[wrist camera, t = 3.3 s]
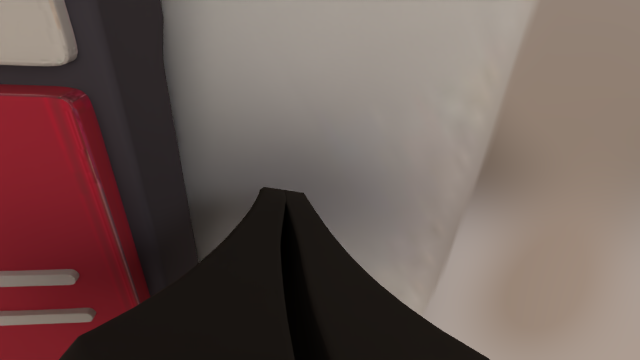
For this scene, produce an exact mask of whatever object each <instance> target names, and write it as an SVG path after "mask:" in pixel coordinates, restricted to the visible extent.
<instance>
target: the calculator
mask: <svg viewBox="0 0 640 360" xmlns="http://www.w3.org/2000/svg"><path fill="white" fill-rule="evenodd" d="M197 264H198V259H197V253H196V248H195V242H194V236H193V231H192V225H191V219H190V213H189V208H188V202H187V196H186V191H185V185H184V179H183V173H182V168H181V162H180V156H179V151H178V145H177V139H176V133H175V128H174V122H173V116H172V111H171V105H170V99H169V93H168V88H167V82H166V76H165V71H164V64H163V15H162V8H161V2H160V0H0V360H59V359H60V358H61V356H62V355H63V354H64V353H65V352H66V350H67V349H68V348H69V347H70V346H71V344H72V343H73V342H74V341H75V340H76V339H77V337H78V336H80V335H82V334H84V333H86V332H88V331H90V330H92V329H94V328H96V327H98V326H100V325H102V324H104V323H105V322H107V321H109V320H111V319H113V318H115V317H117V316H119V315H120V314H122V313H124V312H126V311H128V310H130V309H132V308H133V307H135V306H137V305H138V304H140V303H142V302H143V301H145V300H147V299H148V298H150V297H151V296H153V295H154V294H156V293H157V292H159V291H160V290H162V289H164V288H165V287H167V286H168V285H170V284H171V283H173V282H174V281H176V280H177V279H179V278H180V277H181V276H183V275H184V274H185V273H187V272H188V271H189V270H191V269H192V268H193V267H194V266H196V265H197Z"/></svg>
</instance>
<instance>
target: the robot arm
mask: <svg viewBox="0 0 640 360" xmlns="http://www.w3.org/2000/svg"><path fill="white" fill-rule="evenodd" d="M59 360H489V358H487V357H485V356H484V355H482V354H480V353H479V352H477V351H475V350H474V349H472V348H470V347H469V346H467V345H465V344H464V343H462V342H460V341H458V340H457V339H455V338H454V337H452V336H450V335H449V334H447V333H445V332H443V331H442V330H440V329H439V328H437V327H436V326H434V325H433V324H432V323H430V322H429V321H427V320H426V319H424V318H423V317H422V316H420V315H419V314H417V313H416V312H414V311H413V310H412V309H410V308H409V307H408V306H406V305H405V304H404V303H402V302H401V301H400V300H398V299H397V298H396V297H395V296H394V295H392V294H391V293H390V292H389V291H387V290H386V289H385V288H384V287H383V286H381V285H380V284H379V283H378V282H377V281H376V280H374V279H373V278H372V277H371V276H370V275H369V274H368V273H367V272H366V271H365V270H364V269H363V268H362V267H361V266H360V265H359V264H358V263H357V262H356V261H355V260H354V259H353V258H352V257H351V256H350V255H349V254H348V253H347V252H346V250H345V249H344V248H343V247H342V246H341V245H340V243H339V242H338V241H337V240H336V239H335V237H334V236H333V235H332V234H331V232H330V231H329V230H328V228H327V227H326V226H325V224H324V223H323V221H322V220H321V219H320V217H319V216H318V214H317V213H316V211H315V210H314V208H313V207H312V205H311V203H310V202H309V200H308V199H307V197H306V196H305V194H304V193H300V192H294V191H287V190H281V189H274V188H268V187H263V188H262V189H260V192H259V195H258V197H257V199H256V201H255V202H254V204H253V205H252V207H251V208H250V210H249V211H248V213H247V214H246V215H245V217H244V218H243V219H242V221H241V222H240V223H239V224H238V225H237V226H236V228H235V229H234V230H233V231H232V232H231V233H230V234H229V236H228V237H227V238H226V239H225V240H224V241H223V242H222V243H221V244H220V245H219V246H218V247H217V248H216V249H214V250H213V251H212V252H211V253H210V254H209V255H208V256H207V257H205V258H204V259H203V260H202V261H201V262H199V263H198V264H197V265H196V266H194V267H193V268H192V269H191V270H189V271H188V272H187V273H185V274H184V275H183V276H181V277H180V278H179V279H177V280H176V281H174V282H173V283H171V284H170V285H168V286H167V287H165V288H164V289H162V290H160V291H159V292H157V293H156V294H154V295H153V296H151V297H150V298H148V299H147V300H145V301H143V302H142V303H140V304H138V305H137V306H135V307H133V308H132V309H130V310H128V311H126V312H124V313H122V314H120V315H119V316H117V317H115V318H113V319H111V320H109V321H107V322H105V323H104V324H102V325H100V326H98V327H96V328H94V329H92V330H90V331H88V332H86V333H84V334H82V335H80V336H78V337H77V339H76V340H75V341H74V342H73V343H72V344H71V346H70V347H69V348H68V349H67V350H66V352H65V353H64V354H63V355H62V356H61V358H60V359H59Z"/></svg>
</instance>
